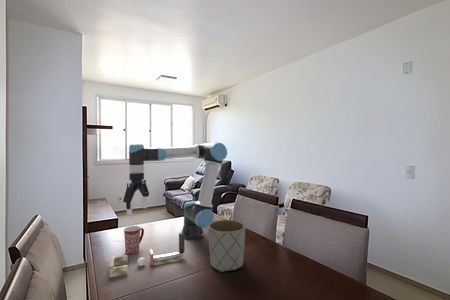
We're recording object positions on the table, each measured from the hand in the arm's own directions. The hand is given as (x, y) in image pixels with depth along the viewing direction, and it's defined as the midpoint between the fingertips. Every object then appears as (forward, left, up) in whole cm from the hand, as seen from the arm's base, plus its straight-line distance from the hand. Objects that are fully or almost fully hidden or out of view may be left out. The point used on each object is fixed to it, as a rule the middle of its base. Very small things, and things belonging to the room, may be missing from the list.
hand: (137, 211), depth 126 cm
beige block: (+9, +11, -25) cm, 29 cm away
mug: (+1, -9, -25) cm, 27 cm away
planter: (-42, +26, -25) cm, 55 cm away
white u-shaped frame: (-15, +11, -25) cm, 31 cm away
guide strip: (-14, +11, -25) cm, 31 cm away
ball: (-2, +11, -23) cm, 25 cm away
